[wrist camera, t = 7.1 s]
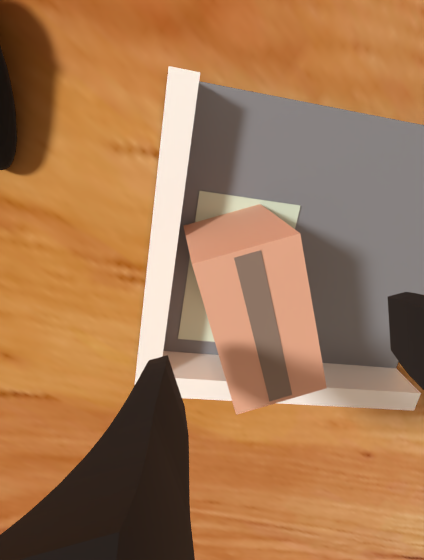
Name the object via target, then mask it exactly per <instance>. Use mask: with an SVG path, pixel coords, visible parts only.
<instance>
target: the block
mask: <svg viewBox="0 0 424 560" xmlns="http://www.w3.org/2000/svg"><path fill="white" fill-rule="evenodd" d="M183 227H184V231H185V235H186V240H187V244H188V249H189V253H190V258H191V262H192V266H193V270H194V273H195V276H196V280H197V283H198V287H199V290H200V293H201V297H202V300H203V304H204V307H205V310H206V314H207V317H208V321H209V324H210V327H211V331H212V334H213V338H214V341H215V344H216V348H217V351H218V354H219V358H220V361H221V365H222V368H223V371H224V375H225V378H226V382H227V385H228V388H229V392H230V395H231V399H232V402H233V405H234V409H235V412H236V415H237V414H240V413H244V412H247V411H251V410H254V409H257V408H261V407H264V406H268V405H271V404H274V403H278V402H281V401H285V400H288V399H292V398H295V397H298V396H302V395H305V394H309V393H312V392H315V391H319V390H322V389H326V388H327V387H326V381H325V375H324V369H323V363H322V357H321V352H320V346H319V340H318V334H317V328H316V322H315V316H314V311H313V305H312V299H311V293H310V287H309V281H308V276H307V270H306V264H305V258H304V252H303V246H302V240H301V235H300V233H299V232H298V231H296V230H295V229H294V228H292V227H291V226H290V225H288V224H287V223H286V222H284V221H283V220H281V219H280V218H279V217H277V216H276V215H275V214H273V213H272V212H271V211H269V210H268V209H266V208H265V207H264V206H262V205H261V204H258V205H255V206H251V207H248V208H244V209H241V210H237V211H234V212H230V213H226V214H223V215H219V216H216V217H212V218H209V219H205V220H202V221H198V222H195V223H191V224H188V225H184V226H183Z"/></svg>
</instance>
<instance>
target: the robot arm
mask: <svg viewBox="0 0 424 560" xmlns="http://www.w3.org/2000/svg"><path fill="white" fill-rule="evenodd" d="M388 313H389V330H390V347H391V351H392V353H393V354H394V356H395V357H396V358H397V360H398V361H399V362H400V364H401V365H402V366H403V368H404V369H405V370H406V371H407V373H408V374H409V375H410V376H411V377H412V378H413V379H414V380H415V381H416V383H417V384H418V385H419V386H420V387H421V388H422V389H423V390H424V295H421V294H417V293H411V292H403V293H399V294H395V295H392V296H388ZM0 560H195V558H194V549H193V540H192V531H191V522H190V506H189V441H188V429H187V421H186V414H185V407H184V403H183V400H182V397H181V394H180V391H179V388H178V385H177V382H176V379H175V376H174V373H173V370H172V367H171V364H170V361H169V357H168V355H166V356H163V357H159V358H155V359H151V360H149V361H148V363H147V364H146V366H145V368H144V370H143V371H142V373H141V375H140V377H139V379H138V381H137V383H136V384H135V386H134V388H133V390H132V391H131V393H130V395H129V397H128V398H127V400H126V402H125V403H124V405H123V407H122V408H121V410H120V411H119V413H118V414H117V416H116V417H115V419H114V420H113V422H112V423H111V425H110V426H109V428H108V429H107V430H106V432H105V433H104V434H103V436H102V437H101V438H100V440H99V441H98V442H97V443H96V444H95V446H94V447H93V448H92V449H91V451H90V452H89V453H88V454H87V455H86V456H85V458H84V459H83V460H82V461H81V462H80V463H79V464H78V465H77V466H76V467H75V468H74V469H73V470H72V471H71V472H70V473H69V474H68V476H67V477H66V478H65V479H64V480H63V481H62V482H61V483H60V484H59V485H58V486H57V487H56V488H55V489H54V490H52V491H51V492H50V493H49V494H48V495H47V496H46V497H45V498H44V499H43V500H42V501H41V502H39V503H38V504H37V505H36V506H35V507H34V508H33V509H32V510H30V511H29V512H28V513H27V514H26V515H25V516H23V517H22V518H21V519H20V520H19V521H17V522H16V523H15V524H14V525H12V526H11V527H10V528H8V529H7V530H6V531H5V532H3V533H2V534H1V535H0Z"/></svg>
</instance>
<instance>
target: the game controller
mask: <svg viewBox="0 0 424 560" xmlns="http://www.w3.org/2000/svg"><path fill="white" fill-rule="evenodd" d="M16 142H17V131H16V112H15V104H14V98H13V92H12V87H11V82H10V78H9V74H8V70H7V66H6V62H5V59H4V56H3V53H2V50H1V47H0V170H4V169H7V168H8V167H9V166H10V165H11V164H12V162H13V160H14V156H15V152H16Z"/></svg>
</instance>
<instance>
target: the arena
mask: <svg viewBox="0 0 424 560" xmlns="http://www.w3.org/2000/svg"><path fill="white" fill-rule="evenodd" d="M199 78H200V72H195V71H190V70H185V69H180V68H175V67H170V66H169V69H168V78H167V87H166V97H165V106H164V115H163V125H162V134H161V143H160V153H159V162H158V172H157V181H156V190H155V200H154V209H153V218H152V228H151V237H150V246H149V256H148V265H147V274H146V284H145V293H144V302H143V312H142V321H141V330H140V340H139V349H138V358H137V368H136V377H135V384H136V383H137V381H138V379H139V377H140V375H141V373H142V371H143V370H144V368H145V366H146V364H147V363H148V361H149V360H151V359H155V358H159V357H163V356H166V355H168V357H169V361H170V364H171V367H172V370H173V373H174V376H175V379H176V382H177V385H178V388H179V391H180V394H181V397H182V398H190V399H209V400H227V401H232V399H231V395H230V392H229V388H228V385H227V382H226V378H225V375H224V371H223V368H222V365H221V361H220V358H219V354H218V351H217V348H216V344H215V341H214V338H213V334H212V331H211V327H210V324H209V321H208V317H207V314H206V310H205V307H204V304H203V300H202V297H201V293H200V290H199V287H198V283H197V280H196V276H195V273H194V270H193V266H192V262H191V258H190V253H189V249H188V244H187V240H186V235H185V231H184V227H183V226H184V225H188V224H191V223H195V222H198V221H202V220H205V219H209V218H212V217H216V216H219V215H223V214H226V213H230V212H234V211H237V210H241V209H244V208H248V207H251V206H255V205H258V204H261V205H262V206H264V207H265V208H266V209H268V210H269V211H271V212H272V213H273V214H275V215H276V216H277V217H279V218H280V219H281V220H283V221H284V222H286V223H287V224H288V225H290V226H291V227H292V228H294V229H295V230H296V231H298V232H299V233H300V235H301V240H302V246H303V252H304V258H305V264H306V270H307V276H308V281H309V287H310V293H311V299H312V305H313V311H314V316H315V322H316V328H317V334H318V340H319V346H320V352H321V357H322V363H323V369H324V375H325V381H326V387H327V388H326V389H322V390H319V391H315V392H312V393H309V394H305V395H302V396H298V397H295V398H292V399H288V400H285V401H281V402H278V403H283V404H301V405H320V406H338V407H357V408H375V409H394V410H412V411H414V409H415V407H416V404H417V402H418V400H419V397H420V395H421V393H420V392H419V391H418V390H417V389H416V388H415V387H414V386H413V385H412V384H411V383H410V382H409V381H408V380H407V379H406V378H405V377H404V376H403V375H402V374H401V373H400V372H399V371H398V370H397V369H396V367H397V365H398V362H399V361H398V360H397V358H396V357H395V356H394V354H393V353H392V351H391V347H390V330H389V313H388V296H392V295H395V294H399V293H403V292H411V293H417V294H421V295H424V125H420V124H415V123H409V122H404V121H399V120H394V119H389V118H384V117H379V116H374V115H368V114H363V113H358V112H353V111H348V110H343V109H338V108H333V107H328V106H322V105H317V104H312V103H307V102H302V101H297V100H292V99H287V98H281V97H276V96H271V95H266V94H261V93H256V92H251V91H246V90H240V89H235V88H230V87H225V86H220V85H215V84H210V83H205V82H200V81H199Z"/></svg>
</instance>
